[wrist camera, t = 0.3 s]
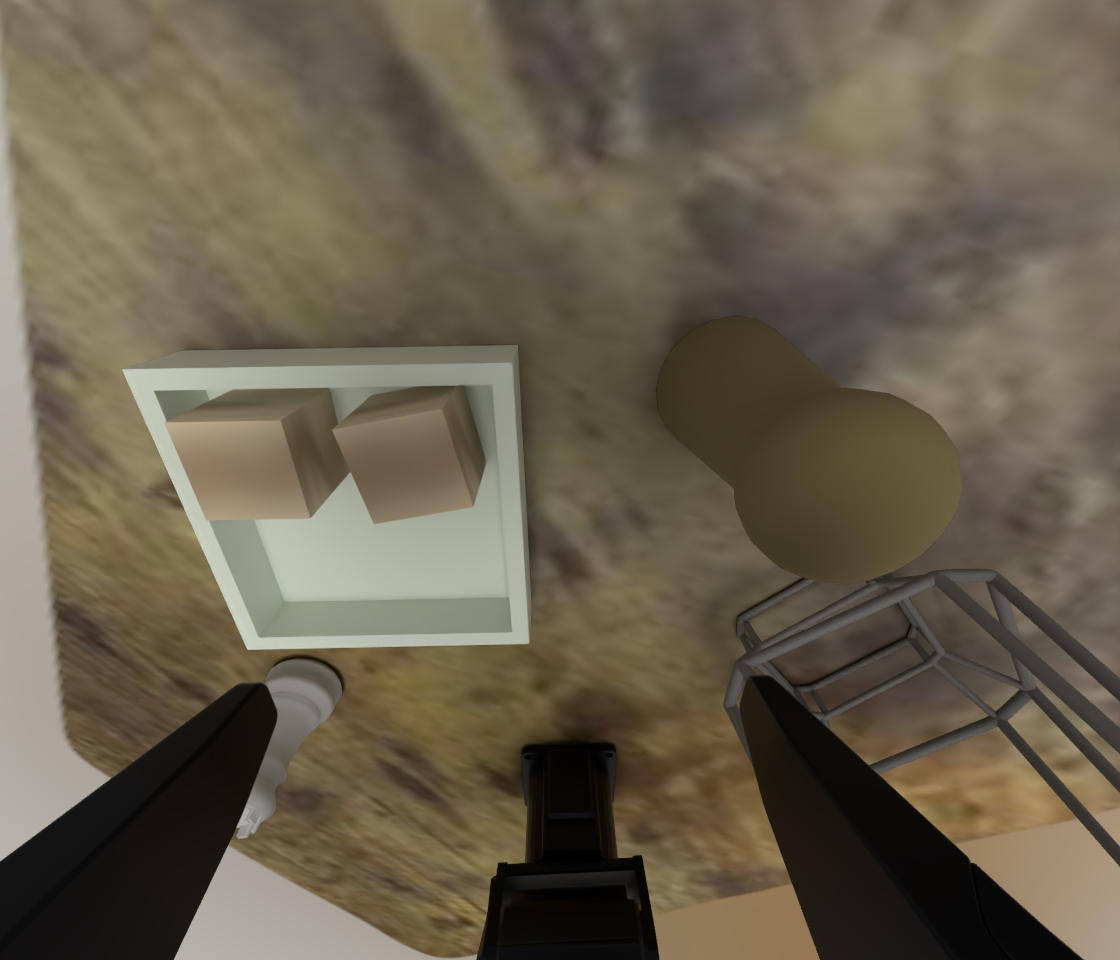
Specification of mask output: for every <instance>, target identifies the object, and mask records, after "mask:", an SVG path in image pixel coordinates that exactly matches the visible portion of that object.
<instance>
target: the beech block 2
mask: <svg viewBox="0 0 1120 960" xmlns="http://www.w3.org/2000/svg"><path fill="white" fill-rule="evenodd" d="M332 431H333V434H334V436H335V438H336V440H337V443H338V445H339V447H340V449H341V452H342V454H343V456H344V458H345V461H346V463H347V465H348V467H349V470H350V472H351V474H352V476H353V479H354V481H355V483H356V485H357V488H358V490H359V492H360V494H361V497H362V499H363V501H364V503H365V506H366V508H367V510H368V512H369V514H370V517H371V519H372V521H373V523H374V524H378V523H384V522H390V521H396V520H401V519H407V518H413V517H419V516H425V515H430V514H436V513H442V512H448V511H453V510H459V509H465V508H471V507H474V503H475V500H476V496H477V493H478V490H479V486H480V483H481V479H482V476H483V472H484V469H485V466H486V459H485V456H484V452H483V449H482V445H481V442H480V438H479V435H478V431H477V428H476V425H475V421H474V418H473V414H472V411H471V407H470V404H469V401H468V397H467V394H466V390H465V387H464V385H456V386H416V387H411V388H406V389H401V390H396V391H391V392H386V393H381V394H375V395H371V396H370V397H369V398H367V399H366V400H365V401H364V402H363V403H362V404H361V405H359V406H358V407H357V408H356V409H355V410H354V411H353V412H352V413H350V414H349V415H348V416H347V417H346V418H345V419H344V420H342V421H341V422H340V423H339V424H338V425H337V426H336V427H334V428H333V429H332Z"/></svg>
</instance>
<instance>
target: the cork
mask: <svg viewBox="0 0 1120 960" xmlns="http://www.w3.org/2000/svg"><path fill="white" fill-rule="evenodd" d="M656 395H657V407H658V411H659V413H660V416H661V418H662V420H663V422H664V424H665V427H666V428H667V429H668V430H669V431H670V432H671V433H672V434H673V435H674V436H675V437H676V438H677V439H678V440H679V441H680V442H682V443H683V444H684V445H685V446H686V447H687V448H688V449H689V450H691V451H692V452H693V453H694V454H695V455H696V456H697V457H699V458H700V459H701V460H702V461H703V462H704V463H705V464H706V465H708V466H709V467H710V468H711V469H712V470H713V471H714V472H715V473H717V474H718V475H719V476H720V477H721V478H722V479H723V480H725V481H726V482H727V483H728V484H729V485H730V486H731V487H732V488H734V498H735V504H736V510H737V512H738V514H739V517H740V519H741V522H742V524H743V527H744V529H745V531H746V533H747V534H748V536H749V538H750V539H751V541H752V542H753V543H754V544H755V545H756V546H757V547H758V548H759V549H760V550H761V551H762V552H763V553H764V554H765V555H766V556H767V557H768V558H769V559H770V560H771V561H773V562H774V563H775V564H777V565H778V566H779V567H781V568H782V569H784V570H787V571H789V572H791V573H794V574H796V575H798V576H801V577H803V578H806V579H810V580H814V581H819V582H828V583H837V584H847V583H854V582H861V581H868V580H872V579H874V578H877V577H880V576H882V575H885V574H888V573H891V572H893V571H896V570H898V569H899V568H901V567H903V566H904V565H906V564H907V563H909V562H911V561H912V560H914V559H915V558H917V557H919V556H920V555H922V554H923V553H924V552H925V551H926V550H927V549H928V548H929V547H930V546H931V545H932V544H933V543H934V542H935V541H936V540H937V539H938V538H939V537H940V536H941V535H942V534H943V532H944V531H945V529H946V528H947V526H948V524H949V523H950V521H951V520H952V518H953V516H954V515H955V513H956V512H957V508H958V504H959V501H960V497H961V493H962V489H963V482H962V475H961V468H960V462H959V457H958V453H957V448H956V447H955V445H954V444H953V442H952V441H951V440H950V438H949V437H948V435H947V434H946V432H945V431H944V429H943V428H942V427H941V426H940V425H939V424H938V423H937V421H936V420H935V419H934V418H933V417H932V416H931V415H930V414H928V413H926V412H924V411H923V410H921V409H919V408H917V407H916V406H914V405H912V404H910V403H909V402H907V401H905V400H903V399H901V398H898V397H896V396H894V395H891V394H889V393H883V392H876V391H869V390H862V389H851V388H841V387H840V386H839V385H838V384H837V383H836V382H835V381H833V380H832V379H831V378H830V377H829V376H828V375H827V374H825V373H824V372H823V371H822V370H821V369H820V368H819V367H818V366H816V365H815V364H814V363H813V362H812V361H811V360H810V359H808V358H807V357H806V356H805V355H804V354H803V353H802V352H800V351H799V350H798V349H797V348H796V347H795V346H794V345H792V344H791V343H790V342H789V341H788V340H787V339H786V338H784V337H783V336H782V335H781V334H780V333H779V332H778V331H776V330H775V329H773V328H772V327H770V326H768V325H766V324H765V323H763V322H761V321H759V320H758V319H752V318H745V317H739V316H732V317H727V318H721V319H716V320H711V321H709V322H708V323H706V324H704V325H702V326H700V327H698V328H696V329H694V330H692V331H690V332H689V333H688V334H687V335H686V336H685V337H684V338H683V339H682V340H681V341H680V342H679V343H678V344H677V345H676V346H674V347H673V349H672V350H671V352H670V354H669V356H668V357H667V359H666V361H665V362H664V364H663V366H662V367H661V371H660V375H659V379H658V383H657V387H656Z"/></svg>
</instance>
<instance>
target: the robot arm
mask: <svg viewBox="0 0 1120 960" xmlns="http://www.w3.org/2000/svg"><path fill="white" fill-rule="evenodd" d="M740 716H741V720H742V724H743V728H744V732H745V736H746V740H747V744H748V747H749V751H750V755H751V759H752V763H753V767H754V770H755V774H756V778H757V782H758V786H759V790H760V793H761V797H762V800H763V804H764V807H765V810H766V813H767V816H768V819H769V822H770V824H771V827H772V830H773V833H774V835H775V838H776V841H777V843H778V846H779V849H780V852H781V854H782V857H783V860H784V863H785V865H786V868H787V871H788V874H789V876H790V879H791V882H792V884H793V887H794V890H795V893H796V895H797V898H798V901H799V904H800V906H801V909H802V912H803V915H804V917H805V920H806V923H807V925H808V928H809V931H810V934H811V936H812V939H813V942H814V945H815V947H816V950H817V953H818V955H819V958H820V960H1084V959H1082V958H1081V957H1080V956H1079V955H1078V954H1076V953H1075V952H1074V951H1073V950H1072V949H1071V948H1069V947H1068V946H1067V945H1066V944H1065V943H1063V942H1062V941H1061V940H1060V939H1058V937H1056V936H1055V935H1054V934H1053V933H1052V932H1050V931H1049V930H1048V929H1047V928H1046V927H1045V926H1044V925H1043V924H1041V923H1040V922H1039V921H1038V920H1037V919H1036V918H1035V917H1034V916H1032V915H1031V914H1030V913H1029V912H1028V911H1027V910H1026V909H1025V908H1024V907H1023V906H1021V905H1020V904H1019V903H1018V902H1017V901H1016V900H1015V899H1014V898H1012V897H1011V896H1010V895H1009V894H1008V893H1007V892H1006V891H1005V890H1004V889H1002V888H1001V887H1000V886H999V885H998V884H997V883H996V882H995V881H994V880H993V879H992V878H990V877H989V876H988V875H987V874H986V873H985V872H984V871H983V870H982V869H981V868H980V867H978V866H977V865H976V864H975V863H971V862H970V859H969V858H968V857H967V856H966V855H965V854H964V853H963V852H962V851H961V850H960V849H959V848H958V847H957V846H956V845H954V844H953V843H952V842H951V841H950V840H949V839H948V838H947V837H946V836H945V835H944V834H943V833H941V832H940V831H939V830H938V829H937V828H936V827H935V826H934V825H933V824H932V823H931V822H929V821H928V820H927V819H926V818H925V817H924V816H923V815H922V814H921V813H920V812H919V811H918V810H916V809H915V808H914V807H913V806H912V805H911V804H910V803H909V802H908V801H907V800H906V799H905V798H903V797H902V796H901V795H900V794H899V793H898V792H897V791H896V790H895V789H894V788H893V787H892V786H890V785H889V784H888V783H887V782H886V781H885V780H884V779H883V778H882V777H881V776H880V775H878V774H877V773H876V772H875V771H874V770H873V769H872V768H871V767H870V766H869V765H868V764H867V763H865V762H864V761H863V760H862V759H861V758H860V757H859V756H858V755H857V754H856V753H855V752H854V751H852V750H851V749H850V748H849V747H848V746H847V745H846V744H845V743H844V742H843V741H842V740H841V739H839V738H838V737H837V736H836V735H835V734H834V733H833V732H832V731H831V730H830V729H829V728H827V727H826V726H825V725H824V724H823V723H822V722H821V721H820V720H819V719H818V718H817V717H816V716H814V715H813V714H812V713H811V712H810V711H809V710H808V709H807V708H806V707H805V706H804V705H803V704H801V703H800V702H799V701H798V700H797V699H796V698H795V697H794V696H793V695H792V694H791V693H790V692H788V691H787V690H786V689H785V688H784V687H783V686H782V685H781V684H780V683H779V682H778V681H776V680H775V679H774V678H773V677H771V676H769V675H750V676H748V677H747V679H746V682H745V686H744V690H743V694H742V698H741V702H740ZM277 718H278V713H277V708H276V706H275V703H274V701H273V698H272V696H271V693H270V691H269V689H268V686H267V685H266V684H265V683H264V682H242V683H240V684H238V685H236V686H234V687H233V688H232V689H230V690H229V691H228V692H226V693H225V694H224V695H222V696H221V697H220V698H218V699H217V700H216V701H214V702H213V703H212V704H210V705H209V706H208V707H206V708H205V709H204V710H202V711H201V712H200V713H198V714H197V715H196V716H194V717H193V718H192V719H190V720H189V721H188V722H186V723H185V724H184V725H182V726H181V727H180V728H178V729H177V730H176V731H174V732H173V733H171V734H170V735H169V736H167V737H166V738H165V739H163V740H162V741H161V742H159V743H158V744H157V745H155V746H154V747H153V748H151V749H150V750H149V751H147V752H146V753H145V754H143V755H142V756H141V757H139V758H138V759H137V760H135V761H134V762H133V763H131V764H130V765H129V766H127V767H126V768H125V769H123V770H122V771H121V772H119V773H118V774H117V775H115V776H114V777H113V778H111V779H110V780H109V781H107V782H106V783H105V784H103V785H102V786H101V787H99V788H98V789H97V790H95V791H94V792H93V793H91V794H90V795H89V796H87V797H86V798H84V799H83V800H82V801H81V802H79V803H78V804H77V805H75V806H74V807H72V808H71V809H70V810H69V811H67V812H66V813H65V814H63V815H62V816H60V817H59V818H58V819H56V820H55V821H54V822H52V823H51V824H50V825H48V826H47V827H46V828H44V829H43V830H42V831H40V832H39V833H38V834H36V835H35V836H34V837H32V838H31V839H30V840H28V841H27V842H26V843H24V844H23V845H22V846H20V847H19V848H18V849H16V850H15V851H14V852H12V853H11V854H9V855H8V856H7V857H5V858H4V859H3V860H2V861H0V960H174V958H175V956H176V954H177V952H178V949H179V947H180V945H181V943H182V941H183V939H184V937H185V935H186V933H187V930H188V928H189V926H190V924H191V922H192V920H193V918H194V916H195V914H196V912H197V909H198V907H199V905H200V903H201V901H202V899H203V897H204V895H205V893H206V891H207V889H208V886H209V884H210V882H211V880H212V878H213V876H214V873H215V872H216V870H217V867H218V865H219V863H220V861H221V859H222V857H223V855H224V853H225V850H226V849H227V846H228V844H229V842H230V840H231V838H232V836H233V834H234V832H235V830H236V827H237V825H238V823H239V821H240V819H241V816H242V814H243V812H244V809H245V807H246V804H247V802H248V799H249V797H250V794H251V791H252V789H253V786H254V783H255V780H256V778H257V775H258V772H259V770H260V767H261V764H262V762H263V759H264V756H265V753H266V751H267V748H268V745H269V743H270V740H271V737H272V735H273V732H274V729H275V726H276V723H277ZM616 758H617V753H616V748H615V747H614V746H612V745H590V746H545V747H525V748H523V749H522V751H521V764H522V776H523V788H524V800H525V805H526V806H528V807H527V830H526V853H525V863H519V864H508V863H507V862H502V863H498V868H497V874H496V876H495V877H493V878H491V884H490V895H489V904H488V912H487V917H486V922H485V926H484V930H483V934H482V939H481V943H480V947H479V951H478V955H477V959H476V960H659V953H658V946H657V939H656V933H655V927H654V922H653V916H652V910H651V904H650V899H649V893H648V887H647V882H646V876H645V870H644V865H643V859H642V855H636V856H633V858H618V856H617V846H616V837H615V827H614V818H613V808H612V803H613V801H614V787H615V773H616Z"/></svg>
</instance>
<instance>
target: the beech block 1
mask: <svg viewBox="0 0 1120 960" xmlns="http://www.w3.org/2000/svg"><path fill="white" fill-rule="evenodd" d="M164 423H165V426H166V428H167V430H168V433H169V435H170V437H171V440H172V442H173V444H174V447H175V449H176V451H177V454H178V456H179V458H180V461H181V463H182V465H183V468H184V470H185V472H186V475H187V477H188V479H189V482H190V484H191V486H192V489H193V491H194V493H195V496H196V498H197V500H198V503H199V505H200V507H201V510H202V512H203V514H204V517H205V519H206V521H207V520H260V519H310V518H311V517H312V516H313V515H314V514H315V513H316V511H317V510H318V509H319V508H320V507H321V506H322V504H323V503H324V502H325V501H326V500H327V499H328V497H329V496H330V495H331V494H332V493H333V492H334V490H335V489H336V488H337V487H338V486H339V485H340V483H341V482H342V481H343V480H344V479H345V478H346V476H347V475H348V474H349V473H350V470H349V467H348V465H347V463H346V461H345V458H344V456H343V454H342V452H341V449H340V447H339V445H338V443H337V440H336V438H335V436H334V434H333V431H332V429H333V428H334V427H336V426H337V425H338V421H337V417H336V413H335V409H334V405H333V401H332V397H331V392H330V388H280V389H233V390H231V391H229V392H227V393H225V394H222V395H220V396H218V397H216V398H214V399H212V400H210V401H208V402H206V403H204V404H202V405H200V406H198V407H195V408H193V409H191V410H189V411H187V412H185V413H183V414H181V415H179V416H177V417H175V418H173V419H170V420H168V421H166V422H164Z"/></svg>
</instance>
